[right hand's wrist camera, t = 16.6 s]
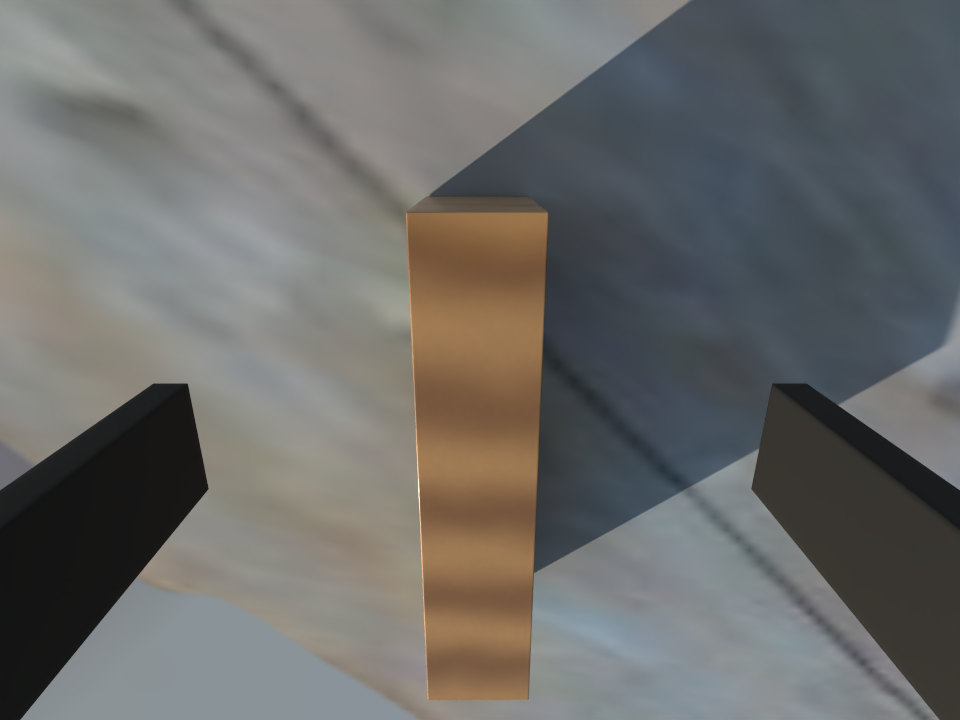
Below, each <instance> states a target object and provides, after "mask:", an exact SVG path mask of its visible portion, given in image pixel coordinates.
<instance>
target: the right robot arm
mask: <svg viewBox="0 0 960 720" xmlns="http://www.w3.org/2000/svg"><path fill="white" fill-rule="evenodd" d="M207 490H208V484H207V479H206V474H205V469H204V464H203V458H202V453H201V448H200V443H199V438H198V433H197V428H196V423H195V418H194V413H193V408H192V403H191V398H190V393H189V388H188V384H152V385H151V386H149V387H148V388H147V389H145V390H144V391H142V392H141V393H139V394H138V395H137V396H135V397H134V398H132V399H131V400H129V401H128V402H126V403H125V404H124V405H122V406H121V407H119V408H118V409H116V410H115V411H114V412H112V413H111V414H109V415H108V416H106V417H105V418H104V419H102V420H101V421H99V422H98V423H96V424H95V425H93V426H92V427H91V428H89V429H88V430H86V431H85V432H83V433H82V434H81V435H79V436H78V437H76V438H75V439H73V440H72V441H70V442H69V443H68V444H66V445H65V446H63V447H62V448H60V449H59V450H58V451H56V452H55V453H53V454H52V455H50V456H49V457H48V458H46V459H45V460H43V461H42V462H40V463H39V464H37V465H36V466H35V467H33V468H32V469H30V470H29V471H27V472H26V473H25V474H23V475H22V476H20V477H19V478H17V479H16V480H15V481H13V482H12V483H10V484H9V485H7V486H6V487H4V488H3V489H2V490H0V720H20V719H21V718H22V717H23V716H24V715H25V713H26V712H27V711H28V710H29V708H30V707H31V706H32V705H33V703H34V702H35V701H36V700H37V698H38V697H39V696H40V695H41V694H42V692H43V691H44V690H45V689H46V688H47V686H48V685H49V684H50V683H51V681H52V680H53V679H54V678H55V676H56V675H57V674H58V673H59V672H60V670H61V669H62V668H63V667H64V665H65V664H66V663H67V662H68V661H69V659H70V658H71V657H72V656H73V654H74V653H75V652H76V651H77V650H78V648H79V647H80V646H81V645H82V643H83V642H84V641H85V640H86V639H87V637H88V636H89V635H90V634H91V632H92V631H93V630H94V629H95V627H96V626H97V625H98V624H99V623H100V621H101V620H102V619H103V618H104V616H105V615H106V614H107V613H108V612H109V610H110V609H111V608H112V607H113V605H114V604H115V603H116V602H117V600H118V599H119V598H120V597H121V596H122V594H123V593H124V592H125V591H126V589H127V588H128V587H129V586H130V585H131V583H132V582H133V581H134V580H135V578H136V577H137V576H138V575H139V574H140V572H141V571H142V570H143V569H144V567H145V566H146V565H147V564H148V563H149V561H150V560H151V559H152V558H153V556H154V555H155V554H156V553H157V552H158V550H159V549H160V548H161V547H162V545H163V544H164V543H165V542H166V540H167V539H168V538H169V537H170V536H171V534H172V533H173V532H174V531H175V529H176V528H177V527H178V526H179V525H180V523H181V522H182V521H183V520H184V518H185V517H186V516H187V515H188V514H189V512H190V511H191V510H192V509H193V507H194V506H195V505H196V504H197V502H198V501H199V500H200V499H201V498H202V496H203V495H204V494H205V493H206V491H207ZM752 490H753V491H754V493H755V494H756V495H757V496H758V498H759V499H760V500H761V501H762V502H763V504H764V505H765V506H766V507H767V509H768V510H769V511H770V512H771V514H772V515H773V516H774V517H775V518H776V520H777V521H778V522H779V523H780V525H781V526H782V527H783V528H784V529H785V531H786V532H787V533H788V534H789V536H790V537H791V538H792V539H793V540H794V542H795V543H796V544H797V545H798V547H799V548H800V549H801V550H802V552H803V553H804V554H805V555H806V556H807V558H808V559H809V560H810V561H811V563H812V564H813V565H814V566H815V567H816V569H817V570H818V571H819V572H820V574H821V575H822V576H823V577H824V578H825V580H826V581H827V582H828V583H829V585H830V586H831V587H832V588H833V590H834V591H835V592H836V593H837V594H838V596H839V597H840V598H841V599H842V601H843V602H844V603H845V604H846V605H847V607H848V608H849V609H850V610H851V612H852V613H853V614H854V615H855V616H856V618H857V619H858V620H859V621H860V623H861V624H862V625H863V626H864V627H865V629H866V630H867V631H868V632H869V634H870V635H871V636H872V637H873V639H874V640H875V641H876V642H877V643H878V645H879V646H880V647H881V648H882V650H883V651H884V652H885V653H886V654H887V656H888V657H889V658H890V659H891V661H892V662H893V663H894V664H895V665H896V667H897V668H898V669H899V670H900V672H901V673H902V674H903V675H904V677H905V678H906V679H907V680H908V681H909V683H910V684H911V685H912V686H913V688H914V689H915V690H916V691H917V692H918V694H919V695H920V696H921V697H922V699H923V700H924V701H925V702H926V703H927V705H928V706H929V707H930V708H931V710H932V711H933V712H934V713H935V715H936V716H937V717H938V718H939V719H940V720H960V490H958V489H957V488H956V487H954V486H953V485H951V484H950V483H948V482H947V481H946V480H944V479H943V478H941V477H940V476H938V475H937V474H935V473H934V472H933V471H931V470H930V469H928V468H927V467H925V466H924V465H923V464H921V463H920V462H918V461H917V460H915V459H914V458H912V457H911V456H910V455H908V454H907V453H905V452H904V451H902V450H901V449H900V448H898V447H897V446H895V445H894V444H892V443H891V442H890V441H888V440H887V439H885V438H884V437H882V436H881V435H879V434H878V433H877V432H875V431H874V430H872V429H871V428H869V427H868V426H867V425H865V424H864V423H862V422H861V421H859V420H858V419H856V418H855V417H854V416H852V415H851V414H849V413H848V412H846V411H845V410H844V409H842V408H841V407H839V406H838V405H836V404H835V403H834V402H832V401H831V400H829V399H828V398H826V397H825V396H823V395H822V394H821V393H819V392H818V391H816V390H815V389H813V388H812V387H811V386H809V385H808V384H772V388H771V393H770V398H769V403H768V408H767V413H766V418H765V423H764V428H763V433H762V438H761V443H760V448H759V453H758V458H757V464H756V469H755V474H754V479H753V484H752Z"/></svg>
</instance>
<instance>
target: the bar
mask: <svg viewBox="0 0 960 720" xmlns="http://www.w3.org/2000/svg"><path fill="white" fill-rule="evenodd" d="M548 217H549V213H548V211H546V210H545V209H544V208H542V207H541V206H540V205H539V204H537V203H536V202H535V201H533V200H532V199H531V198H529V197H528V196H518V197H425V198H424V199H423V200H421V201H420V202H419V203H418V204H416V205H415V206H414V207H412V208H411V209H410V210H409V211H407V212H406V225H407V247H408V269H409V291H410V314H411V336H412V358H413V380H414V402H415V425H416V447H417V469H418V491H419V513H420V536H421V558H422V580H423V602H424V624H425V647H426V669H427V691H428V700H528V699H529V677H530V653H531V629H532V604H533V580H534V556H535V532H536V508H537V484H538V459H539V435H540V411H541V387H542V363H543V338H544V314H545V290H546V266H547V242H548Z"/></svg>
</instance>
